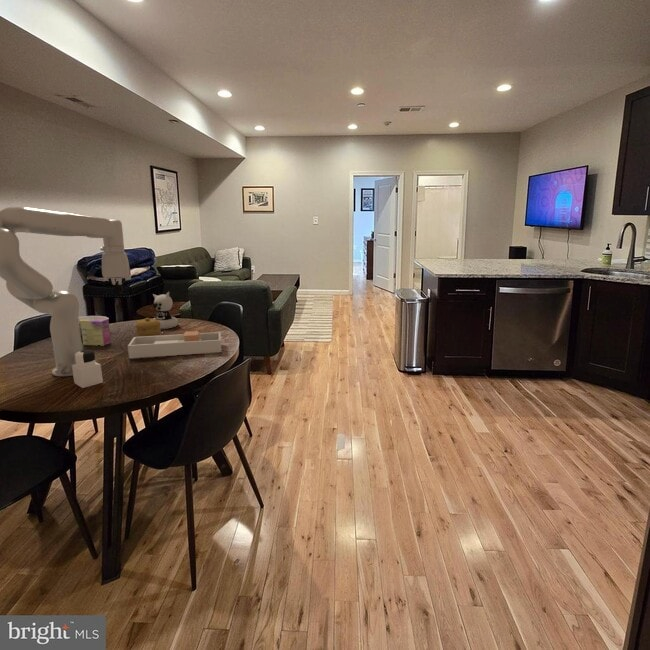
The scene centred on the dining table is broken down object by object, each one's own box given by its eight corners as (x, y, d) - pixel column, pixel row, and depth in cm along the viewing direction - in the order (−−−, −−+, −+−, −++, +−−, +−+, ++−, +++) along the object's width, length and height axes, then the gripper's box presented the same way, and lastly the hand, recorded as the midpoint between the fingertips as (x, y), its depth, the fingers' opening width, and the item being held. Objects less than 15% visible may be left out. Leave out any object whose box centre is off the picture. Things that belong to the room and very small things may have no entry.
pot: (132, 340, 206) (130, 320, 203) (142, 334, 217) (140, 315, 214) (156, 340, 206) (154, 320, 203) (165, 334, 217) (163, 315, 215)
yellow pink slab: (121, 333, 218) (119, 318, 216) (75, 344, 199) (72, 327, 197) (94, 326, 231) (92, 312, 229) (49, 336, 212) (47, 320, 210)
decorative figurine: (144, 329, 226) (140, 292, 221) (160, 323, 240) (157, 288, 235) (168, 331, 223) (165, 293, 218) (183, 324, 237) (181, 289, 232)
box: (111, 342, 202) (108, 318, 199) (104, 346, 196) (101, 321, 193) (90, 341, 203) (87, 318, 200) (83, 345, 197) (79, 320, 194)
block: (198, 343, 187) (198, 335, 186) (184, 344, 185) (183, 335, 184) (199, 339, 193) (198, 331, 192) (185, 340, 192) (185, 331, 191)
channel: (221, 353, 187) (220, 340, 185) (129, 359, 178) (127, 345, 176) (221, 344, 200) (220, 332, 198) (135, 349, 191) (133, 337, 189)
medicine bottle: (94, 378, 157) (90, 347, 154) (103, 382, 153) (99, 351, 150) (74, 383, 152) (69, 351, 149) (82, 388, 147) (77, 355, 144)
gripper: (91, 250, 170) (97, 295, 174) (131, 250, 173) (135, 294, 177) (97, 249, 177) (102, 292, 181) (135, 249, 180) (139, 292, 185)
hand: (118, 293), depth 179 cm, fingers closed
